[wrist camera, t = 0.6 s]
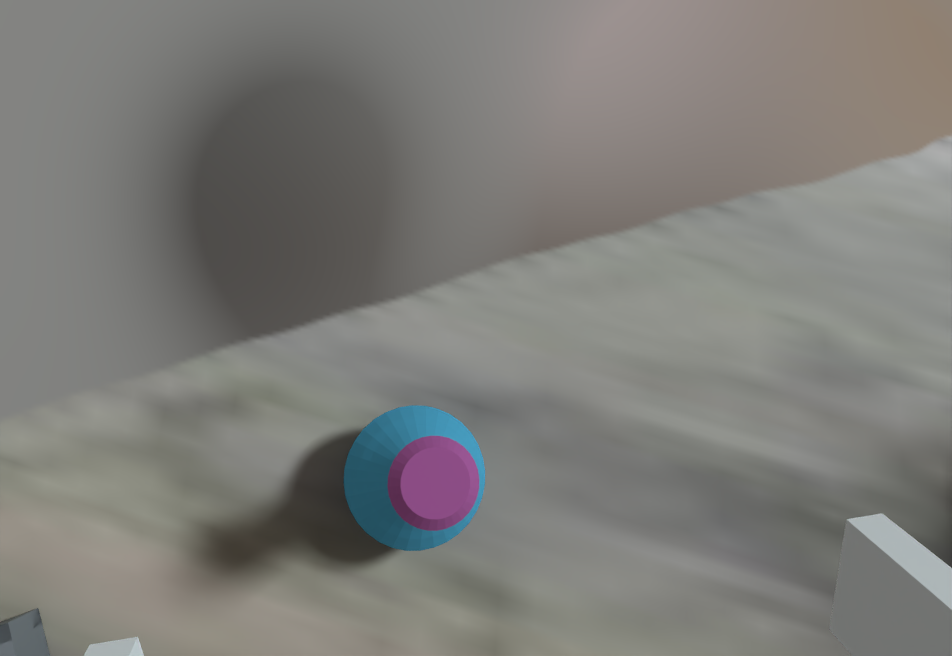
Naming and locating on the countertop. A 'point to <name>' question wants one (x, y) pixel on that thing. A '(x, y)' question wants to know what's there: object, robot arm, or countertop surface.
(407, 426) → the perfume bottle
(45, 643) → the tray
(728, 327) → the countertop surface
